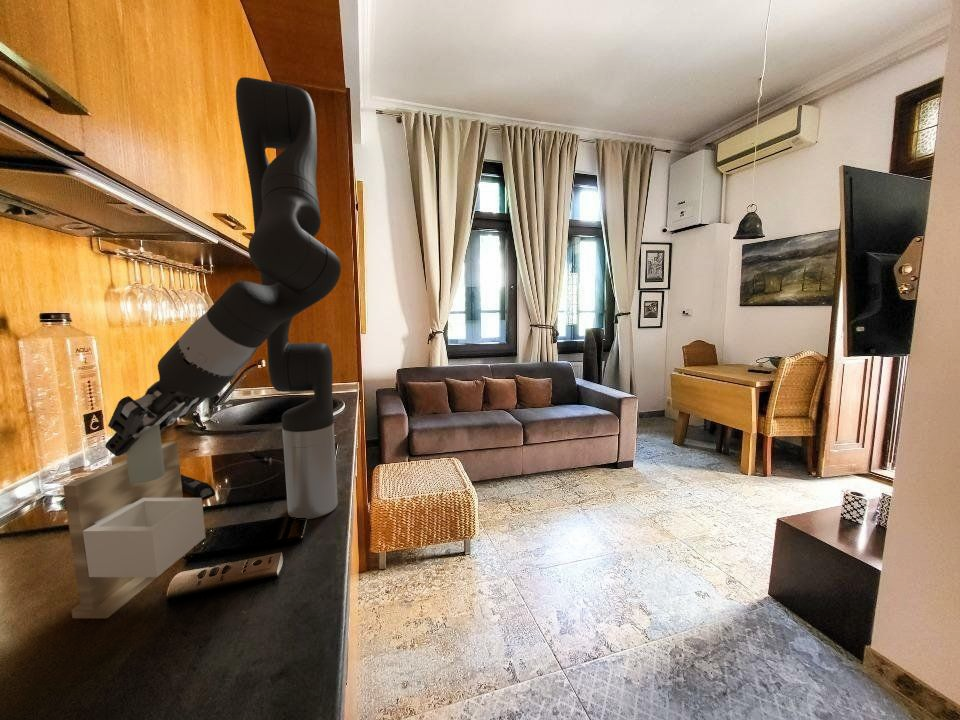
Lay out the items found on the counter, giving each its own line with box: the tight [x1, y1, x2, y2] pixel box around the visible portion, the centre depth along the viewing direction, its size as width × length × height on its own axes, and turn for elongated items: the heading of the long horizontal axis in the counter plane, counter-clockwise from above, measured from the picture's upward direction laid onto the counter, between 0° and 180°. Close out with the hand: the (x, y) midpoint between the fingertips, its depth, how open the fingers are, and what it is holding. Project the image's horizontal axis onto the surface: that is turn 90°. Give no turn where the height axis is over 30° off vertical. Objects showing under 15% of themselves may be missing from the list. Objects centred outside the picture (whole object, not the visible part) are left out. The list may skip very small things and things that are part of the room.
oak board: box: [62, 441, 191, 619], centre depth 56 cm, size 16×4×18 cm, turn 0°
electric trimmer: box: [181, 474, 216, 501], centre depth 85 cm, size 4×16×3 cm, turn 60°
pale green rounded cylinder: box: [125, 408, 165, 483], centre depth 51 cm, size 4×4×10 cm
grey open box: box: [83, 497, 206, 578], centre depth 52 cm, size 9×9×6 cm
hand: (128, 444), depth 51 cm, fingers closed on pale green rounded cylinder, 3 cm apart
